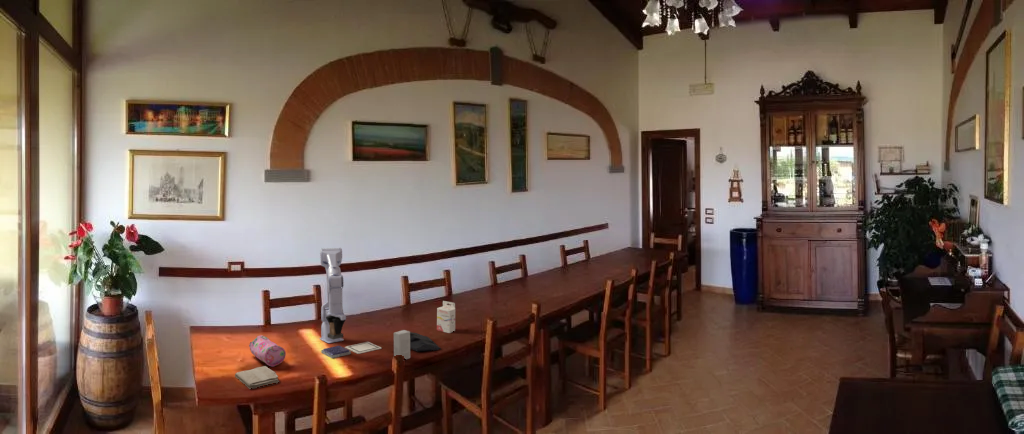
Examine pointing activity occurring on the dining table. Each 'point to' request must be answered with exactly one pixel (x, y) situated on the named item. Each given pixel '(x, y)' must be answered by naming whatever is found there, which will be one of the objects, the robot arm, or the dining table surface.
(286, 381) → the dining table surface
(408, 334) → the skincare box
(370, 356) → the dining table surface
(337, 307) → the robot arm
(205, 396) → the dining table surface
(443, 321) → the ink cartridge box
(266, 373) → the washcloth
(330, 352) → the ink pad
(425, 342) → the dark slate chunk
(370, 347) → the print card
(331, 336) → the stamp
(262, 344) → the pencil case
